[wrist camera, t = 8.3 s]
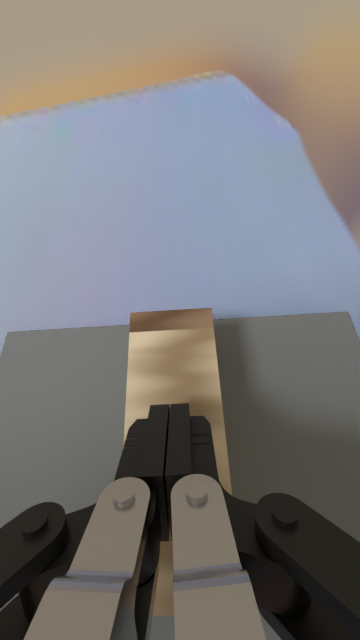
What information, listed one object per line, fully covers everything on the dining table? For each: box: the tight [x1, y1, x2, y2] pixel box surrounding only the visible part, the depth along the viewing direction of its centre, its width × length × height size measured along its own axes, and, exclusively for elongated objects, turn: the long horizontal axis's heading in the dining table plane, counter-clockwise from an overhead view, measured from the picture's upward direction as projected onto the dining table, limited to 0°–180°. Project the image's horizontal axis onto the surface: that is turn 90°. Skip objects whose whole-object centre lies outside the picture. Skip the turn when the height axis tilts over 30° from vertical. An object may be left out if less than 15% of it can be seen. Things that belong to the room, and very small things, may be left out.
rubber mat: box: [0, 312, 360, 640], centre depth 15 cm, size 24×22×1 cm
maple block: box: [123, 308, 232, 616], centre depth 15 cm, size 4×4×12 cm
